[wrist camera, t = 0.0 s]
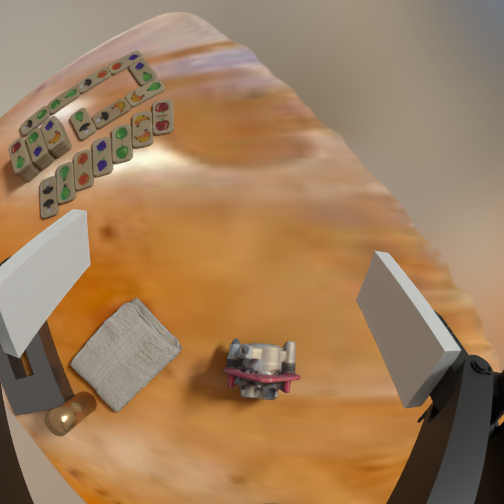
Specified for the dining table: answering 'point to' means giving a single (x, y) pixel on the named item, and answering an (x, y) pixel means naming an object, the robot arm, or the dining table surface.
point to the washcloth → (125, 354)
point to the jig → (35, 376)
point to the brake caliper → (261, 368)
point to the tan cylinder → (70, 413)
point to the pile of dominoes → (89, 134)
